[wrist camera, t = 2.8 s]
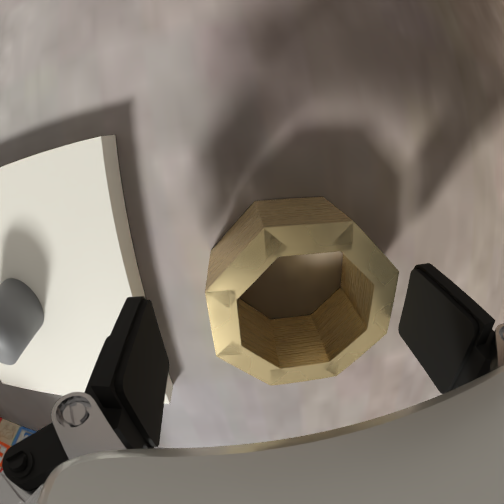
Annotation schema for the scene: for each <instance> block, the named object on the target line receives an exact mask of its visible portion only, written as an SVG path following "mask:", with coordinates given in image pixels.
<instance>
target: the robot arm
mask: <svg viewBox="0 0 504 504" xmlns="http://www.w3.org/2000/svg"><path fill="white" fill-rule="evenodd" d="M494 323H495V320H494V319H493V318H492V317H491V316H490V315H489V314H488V313H487V312H486V311H485V310H484V309H483V308H481V307H480V306H479V305H478V304H477V303H476V302H475V301H474V300H473V299H472V298H470V297H469V296H468V295H467V294H466V293H465V292H464V291H462V290H461V289H460V288H459V287H458V286H457V285H455V284H454V283H453V282H452V281H451V280H450V279H448V278H447V277H446V276H445V275H444V274H442V273H441V272H440V271H439V270H438V269H436V268H435V267H434V266H433V265H431V264H430V263H427V264H420V265H416V266H415V267H414V269H413V270H412V271H411V274H410V279H409V284H408V289H407V294H406V298H405V303H404V307H403V311H402V315H401V319H400V323H399V334H400V336H401V337H402V339H403V340H404V341H405V343H406V344H407V345H408V347H409V348H410V350H411V351H412V352H413V354H414V355H415V357H416V358H417V359H418V361H419V362H420V364H421V365H422V367H423V368H424V369H425V371H426V372H427V374H428V375H429V377H430V378H431V380H432V381H433V383H434V384H435V385H436V387H437V388H438V390H439V391H440V393H442V395H440V396H437V397H435V398H432V399H430V400H427V401H425V402H422V403H420V404H417V405H414V406H411V407H409V408H406V409H403V410H400V411H397V412H394V413H391V414H388V415H385V416H382V417H379V418H375V419H372V420H368V421H365V422H361V423H358V424H354V425H350V426H346V427H342V428H338V429H334V430H329V431H325V432H320V433H315V434H311V435H305V436H300V437H294V438H289V439H282V440H276V441H269V442H261V443H252V444H243V445H231V446H218V447H202V448H159V449H154V447H158V445H159V441H160V432H161V423H162V415H163V407H164V400H165V392H166V385H167V378H168V372H169V360H168V356H167V353H166V350H165V347H164V344H163V341H162V338H161V334H160V331H159V328H158V324H157V321H156V317H155V314H154V310H153V307H152V303H151V301H150V300H146V299H145V297H144V296H137V297H127V299H126V301H125V303H124V305H123V307H122V309H121V312H120V314H119V316H118V318H117V321H116V323H115V325H114V327H113V330H112V332H111V334H110V336H108V337H107V338H106V340H105V342H104V344H103V347H102V349H101V351H100V354H99V356H98V359H97V361H96V364H95V366H94V369H93V371H92V374H91V376H90V379H89V381H88V384H87V387H86V389H85V392H71V393H69V394H66V395H64V396H63V397H61V398H60V399H59V400H58V401H57V402H56V403H55V405H54V407H53V409H52V413H51V418H52V422H53V423H51V424H49V425H48V426H46V427H44V428H42V429H41V430H39V431H37V432H36V433H34V434H32V435H30V436H29V437H27V438H25V439H23V440H21V441H20V442H18V443H16V444H14V445H13V446H11V447H10V448H9V449H8V450H7V451H6V453H5V454H4V457H3V460H2V468H3V471H2V472H0V504H504V324H500V325H498V326H497V328H496V329H495V332H494V331H493V330H492V327H493V325H494Z"/></svg>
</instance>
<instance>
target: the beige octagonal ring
mask: <svg viewBox="0 0 504 504" xmlns="http://www.w3.org/2000/svg"><path fill="white" fill-rule="evenodd" d="M336 251H341V252H342V253H343V261H342V275H341V287H340V288H339V289H338V290H337V291H336V292H335V293H334V294H333V295H332V296H331V297H330V298H329V299H327V300H326V301H325V302H324V303H323V304H322V305H321V306H320V307H319V308H318V309H317V310H316V311H315V312H314V313H313V314H311V315H307V316H299V317H290V318H281V319H271V320H270V319H269V318H267V317H266V316H264V315H263V314H261V313H260V312H259V311H257V310H256V309H254V308H253V307H251V306H250V305H248V304H247V303H246V302H244V301H243V300H241V299H240V298H239V297H240V296H241V295H242V294H243V293H244V292H245V291H246V290H247V289H248V288H249V287H250V286H251V285H252V284H253V283H254V282H255V281H256V280H257V279H258V277H259V276H260V275H261V274H262V273H263V272H264V271H265V270H266V269H267V268H268V267H269V266H270V265H271V264H272V263H273V262H274V261H275V260H276V259H277V258H278V257H281V256H293V255H304V254H315V253H326V252H336ZM398 275H399V271H398V270H397V269H396V268H395V266H394V265H393V264H392V263H391V262H390V261H389V259H388V258H387V257H386V256H385V255H384V254H383V253H382V252H381V250H380V249H379V248H378V247H377V246H376V245H375V244H374V243H373V242H372V241H371V239H370V238H369V237H368V236H367V235H366V234H365V233H364V232H363V231H362V230H361V229H360V228H359V227H358V226H357V225H356V223H355V222H354V221H352V220H351V219H350V218H349V217H348V216H346V215H345V214H344V213H343V212H341V211H340V210H339V209H338V208H336V207H335V206H334V205H333V204H331V203H330V202H329V201H327V200H326V199H325V198H324V197H308V198H291V199H276V200H262V201H254V203H253V204H252V205H251V206H250V207H249V208H248V209H247V210H246V212H245V213H244V214H243V215H242V216H241V217H240V218H239V219H238V221H237V222H236V223H235V224H234V225H233V226H232V227H231V228H230V230H229V231H228V232H227V233H226V234H225V235H224V236H223V238H222V239H221V240H220V241H219V242H218V243H217V244H216V246H215V247H214V248H213V249H212V250H211V253H210V260H209V267H208V275H207V282H206V289H205V294H206V300H207V306H208V312H209V318H210V324H211V329H212V335H213V340H214V346H215V351H216V356H217V357H219V358H221V359H223V360H224V361H226V362H228V363H230V364H231V365H233V366H235V367H237V368H239V369H241V370H242V371H244V372H246V373H248V374H250V375H252V376H254V377H256V378H257V379H259V380H261V381H263V382H265V383H267V384H269V385H280V384H288V383H295V382H302V381H309V380H315V379H322V378H327V377H333V376H337V375H338V374H339V373H341V372H342V371H343V370H344V369H346V368H347V367H348V366H349V365H351V364H352V363H353V362H354V361H355V360H357V359H358V358H359V357H360V356H361V355H363V354H364V353H365V352H366V351H367V350H368V349H370V348H371V347H372V346H373V345H374V344H375V343H376V342H378V341H379V340H380V339H381V338H382V337H383V336H384V335H385V334H386V333H387V330H388V326H389V321H390V317H391V312H392V307H393V302H394V297H395V292H396V286H397V281H398Z"/></svg>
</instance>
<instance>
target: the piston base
mask: <svg viewBox="0 0 504 504" xmlns="http://www.w3.org/2000/svg"><path fill="white" fill-rule="evenodd" d="M137 296H144V297H145V294H144V290H143V286H142V282H141V278H140V274H139V270H138V266H137V261H136V257H135V253H134V248H133V243H132V239H131V234H130V229H129V224H128V218H127V213H126V207H125V202H124V196H123V190H122V183H121V177H120V170H119V162H118V154H117V146H116V137H115V135H108V136H100V137H96V138H91V139H87V140H84V141H80V142H76V143H72V144H69V145H65V146H62V147H58V148H55V149H52V150H48V151H45V152H42V153H39V154H36V155H33V156H30V157H27V158H24V159H21V160H18V161H16V162H13V163H10V164H7V165H5V166H2V167H0V380H1V381H2V383H3V384H7V385H11V386H16V387H20V388H25V389H29V390H34V391H39V392H45V393H51V394H56V395H63V396H64V395H66V394H69V393H71V392H85V389H86V387H87V384H88V381H89V379H90V376H91V374H92V371H93V369H94V366H95V364H96V361H97V359H98V356H99V354H100V351H101V349H102V347H103V344H104V342H105V340H106V338H107V337H108V336H110V334H111V332H112V330H113V327H114V325H115V323H116V321H117V318H118V316H119V314H120V312H121V309H122V307H123V305H124V303H125V301H126V299H127V297H137ZM145 299H146V298H145ZM172 389H173V384H172V381H171V378H170V375H169V373H168V378H167V385H166V392H165V400H164V404H170V401H171V395H172Z"/></svg>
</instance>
